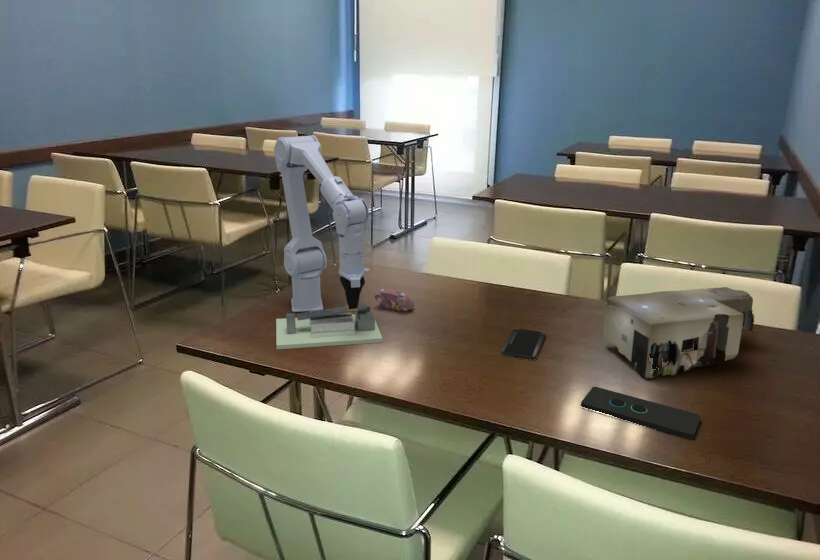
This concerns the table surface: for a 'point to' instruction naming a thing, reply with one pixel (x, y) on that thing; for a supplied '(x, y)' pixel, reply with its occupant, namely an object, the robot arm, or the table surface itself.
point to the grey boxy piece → (677, 327)
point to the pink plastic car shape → (394, 299)
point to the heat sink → (332, 325)
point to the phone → (524, 344)
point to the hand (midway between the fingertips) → (352, 306)
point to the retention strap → (330, 312)
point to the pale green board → (306, 340)
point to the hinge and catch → (362, 320)
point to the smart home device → (643, 412)
